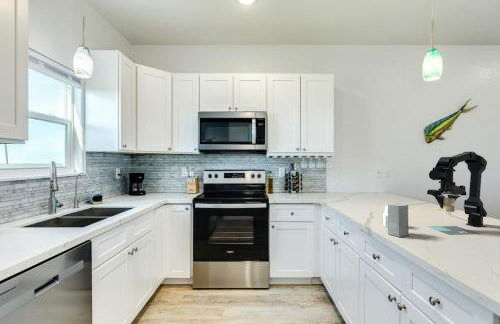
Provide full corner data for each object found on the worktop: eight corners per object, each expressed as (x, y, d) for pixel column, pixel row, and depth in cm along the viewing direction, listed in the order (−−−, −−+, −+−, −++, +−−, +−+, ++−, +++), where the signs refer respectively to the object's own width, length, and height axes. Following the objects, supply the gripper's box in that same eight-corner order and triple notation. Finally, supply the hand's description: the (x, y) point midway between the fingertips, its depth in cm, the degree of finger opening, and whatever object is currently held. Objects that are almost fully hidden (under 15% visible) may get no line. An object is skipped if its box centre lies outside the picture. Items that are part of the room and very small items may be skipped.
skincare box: (399, 237, 133) (399, 206, 133) (386, 234, 140) (386, 203, 139) (409, 235, 137) (409, 204, 137) (396, 231, 144) (396, 202, 143)
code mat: (455, 226, 155) (455, 226, 155) (482, 234, 139) (482, 234, 139) (426, 226, 154) (426, 226, 154) (449, 235, 138) (449, 234, 138)
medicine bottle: (396, 225, 157) (396, 205, 157) (399, 228, 150) (399, 207, 150) (383, 224, 159) (383, 204, 159) (385, 227, 153) (385, 206, 152)
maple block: (446, 209, 150) (447, 197, 150) (454, 211, 145) (454, 198, 145) (438, 209, 149) (438, 197, 149) (445, 211, 144) (445, 198, 144)
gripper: (442, 181, 138) (441, 211, 138) (476, 181, 139) (475, 210, 140) (426, 179, 149) (426, 207, 149) (457, 179, 151) (457, 206, 151)
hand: (446, 208), depth 147 cm, fingers closed on maple block, 5 cm apart
